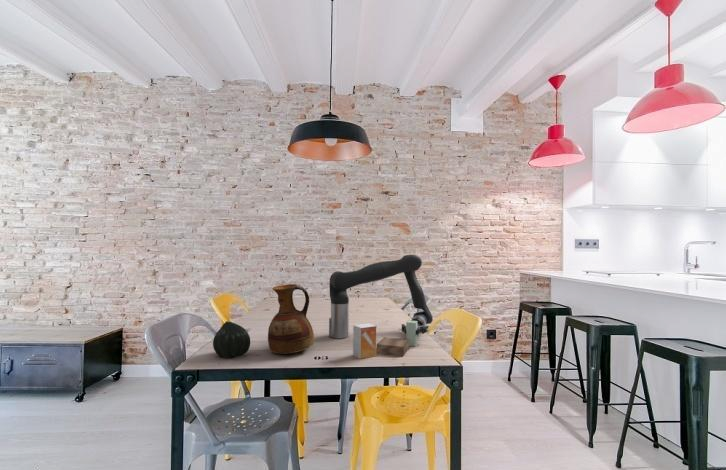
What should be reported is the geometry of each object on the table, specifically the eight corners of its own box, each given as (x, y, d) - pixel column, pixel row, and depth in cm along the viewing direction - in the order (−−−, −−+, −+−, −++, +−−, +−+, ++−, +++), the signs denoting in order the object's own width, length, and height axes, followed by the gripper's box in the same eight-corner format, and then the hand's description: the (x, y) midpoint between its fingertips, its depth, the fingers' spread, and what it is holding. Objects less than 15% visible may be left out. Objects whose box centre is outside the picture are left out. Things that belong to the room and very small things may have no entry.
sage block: (406, 345, 173) (406, 322, 174) (408, 343, 178) (408, 320, 178) (415, 346, 172) (415, 323, 172) (417, 344, 176) (417, 321, 176)
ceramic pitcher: (264, 347, 169) (265, 282, 170) (307, 342, 177) (308, 280, 178) (271, 360, 151) (272, 287, 152) (319, 354, 159) (319, 285, 160)
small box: (360, 359, 153) (360, 328, 154) (352, 355, 159) (352, 325, 159) (376, 356, 158) (376, 325, 158) (368, 352, 163) (368, 322, 163)
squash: (254, 345, 153) (248, 314, 161) (216, 352, 145) (212, 319, 154) (249, 361, 162) (244, 330, 171) (213, 368, 155) (209, 336, 163)
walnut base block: (376, 353, 162) (376, 344, 162) (384, 345, 173) (384, 337, 173) (403, 356, 158) (403, 346, 158) (409, 348, 169) (409, 339, 169)
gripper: (403, 316, 191) (396, 323, 175) (431, 318, 187) (426, 325, 171) (403, 330, 191) (396, 338, 175) (431, 332, 187) (426, 341, 170)
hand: (411, 332), depth 173 cm, fingers closed on sage block, 4 cm apart
